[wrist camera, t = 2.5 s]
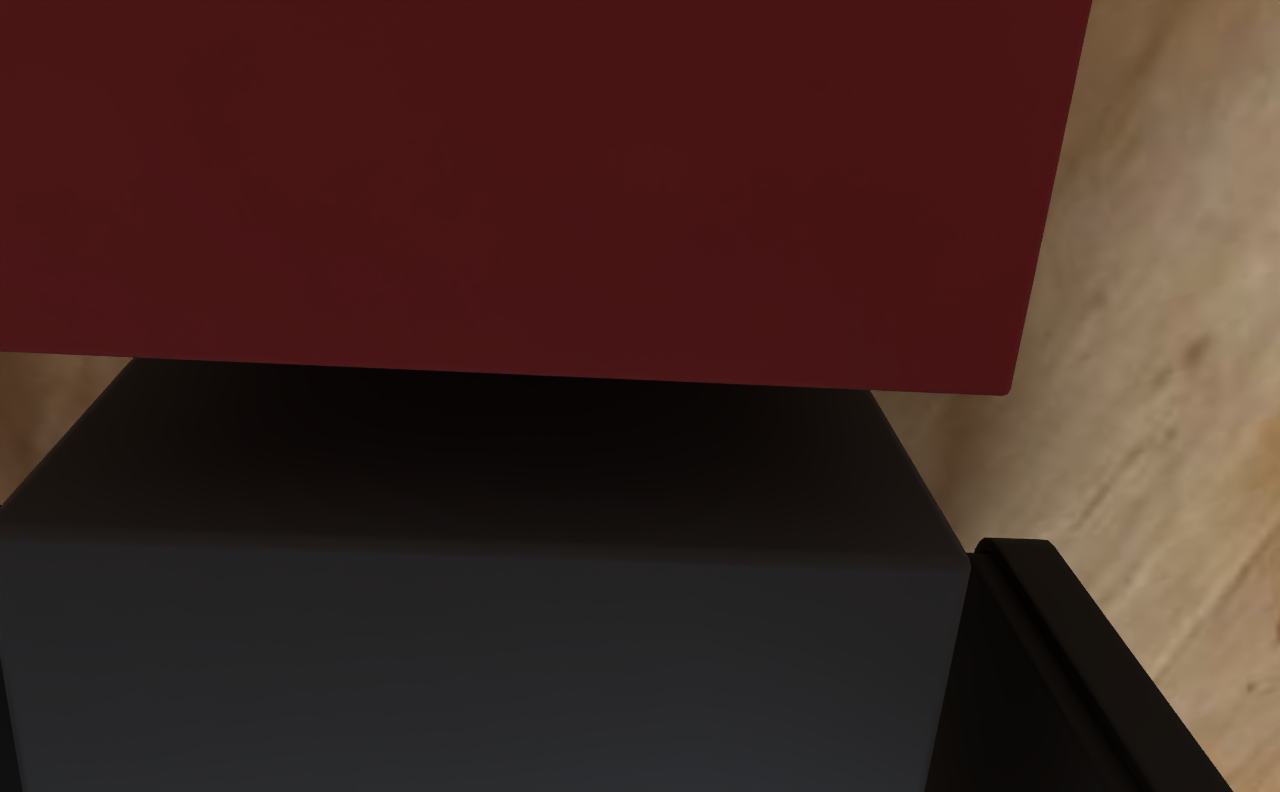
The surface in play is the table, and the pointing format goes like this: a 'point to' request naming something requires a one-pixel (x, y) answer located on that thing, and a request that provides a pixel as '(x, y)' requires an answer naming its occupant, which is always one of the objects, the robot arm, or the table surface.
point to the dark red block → (536, 184)
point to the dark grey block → (474, 587)
